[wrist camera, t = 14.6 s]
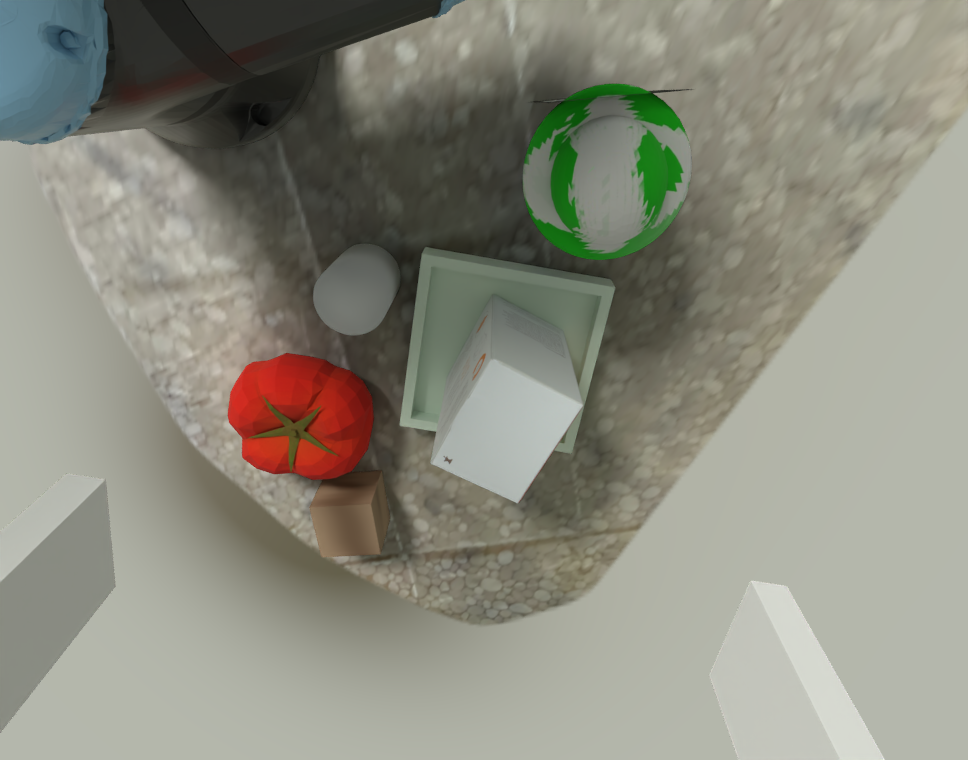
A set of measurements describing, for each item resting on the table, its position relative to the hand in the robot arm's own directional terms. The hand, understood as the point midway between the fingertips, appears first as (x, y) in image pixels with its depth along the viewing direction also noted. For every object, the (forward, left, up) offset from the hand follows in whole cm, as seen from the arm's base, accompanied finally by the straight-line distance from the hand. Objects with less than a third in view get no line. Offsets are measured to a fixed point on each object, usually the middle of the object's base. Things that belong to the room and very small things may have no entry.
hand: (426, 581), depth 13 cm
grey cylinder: (-8, -5, -37) cm, 38 cm away
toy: (+6, +6, -37) cm, 38 cm away
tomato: (-12, -16, -37) cm, 42 cm away
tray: (+3, -9, -37) cm, 38 cm away
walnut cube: (-7, -25, -37) cm, 45 cm away
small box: (+3, -9, -36) cm, 37 cm away
